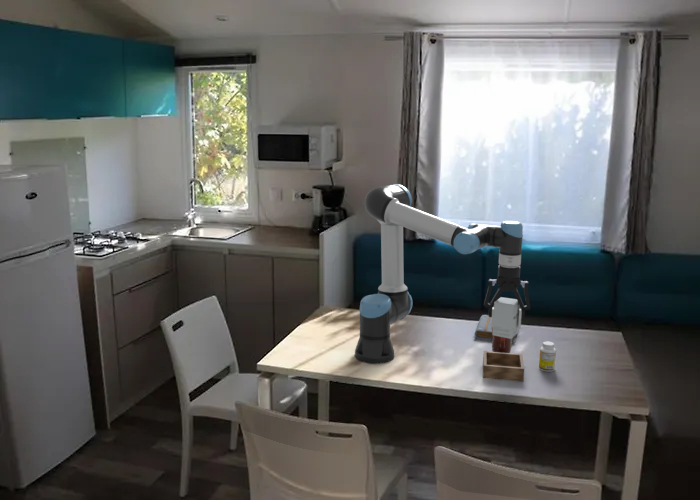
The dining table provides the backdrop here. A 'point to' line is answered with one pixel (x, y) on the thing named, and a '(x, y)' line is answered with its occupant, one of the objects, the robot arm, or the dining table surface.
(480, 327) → the book
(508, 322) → the supplement box
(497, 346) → the mug
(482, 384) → the dining table surface
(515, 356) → the tray
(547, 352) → the supplement bottle
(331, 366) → the dining table surface
